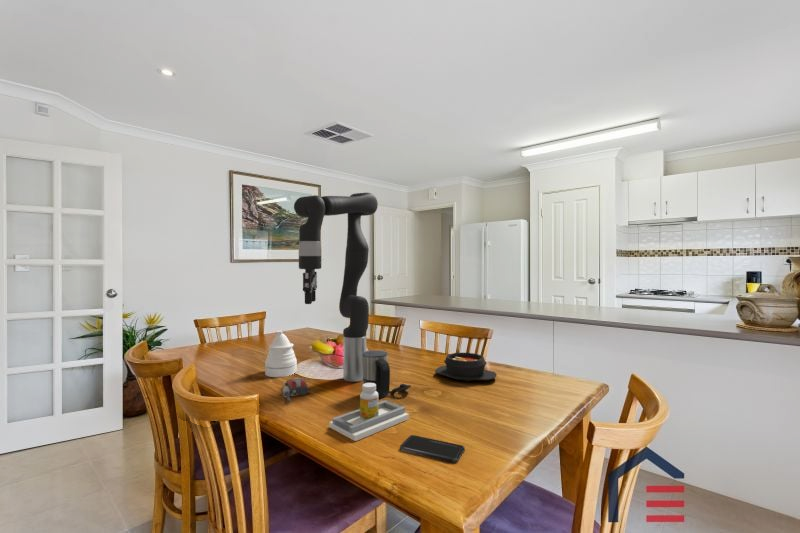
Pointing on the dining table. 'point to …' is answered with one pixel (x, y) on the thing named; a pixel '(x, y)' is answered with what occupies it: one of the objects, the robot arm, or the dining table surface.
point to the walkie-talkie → (295, 388)
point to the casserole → (465, 367)
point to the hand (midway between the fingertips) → (310, 302)
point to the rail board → (369, 421)
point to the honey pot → (280, 357)
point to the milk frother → (379, 372)
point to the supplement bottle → (369, 402)
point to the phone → (433, 448)
